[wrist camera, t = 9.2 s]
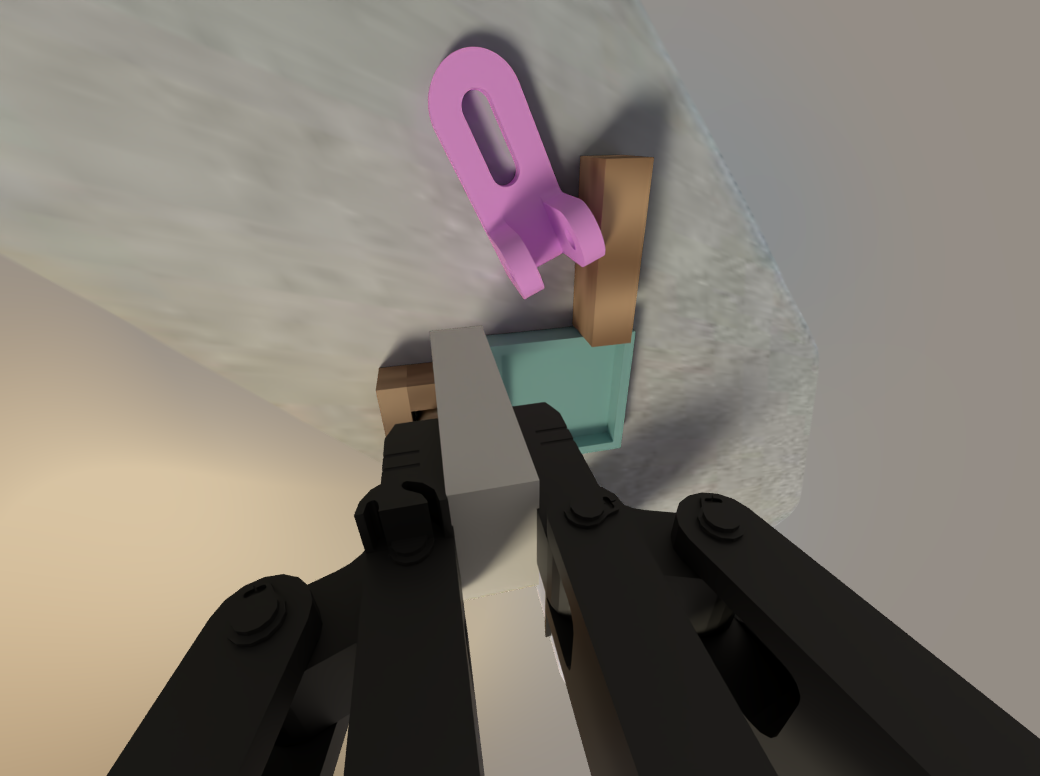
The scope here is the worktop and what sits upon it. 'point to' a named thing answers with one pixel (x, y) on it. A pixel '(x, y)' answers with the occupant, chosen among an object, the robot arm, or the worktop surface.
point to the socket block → (405, 392)
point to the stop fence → (612, 246)
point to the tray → (568, 380)
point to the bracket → (534, 189)
